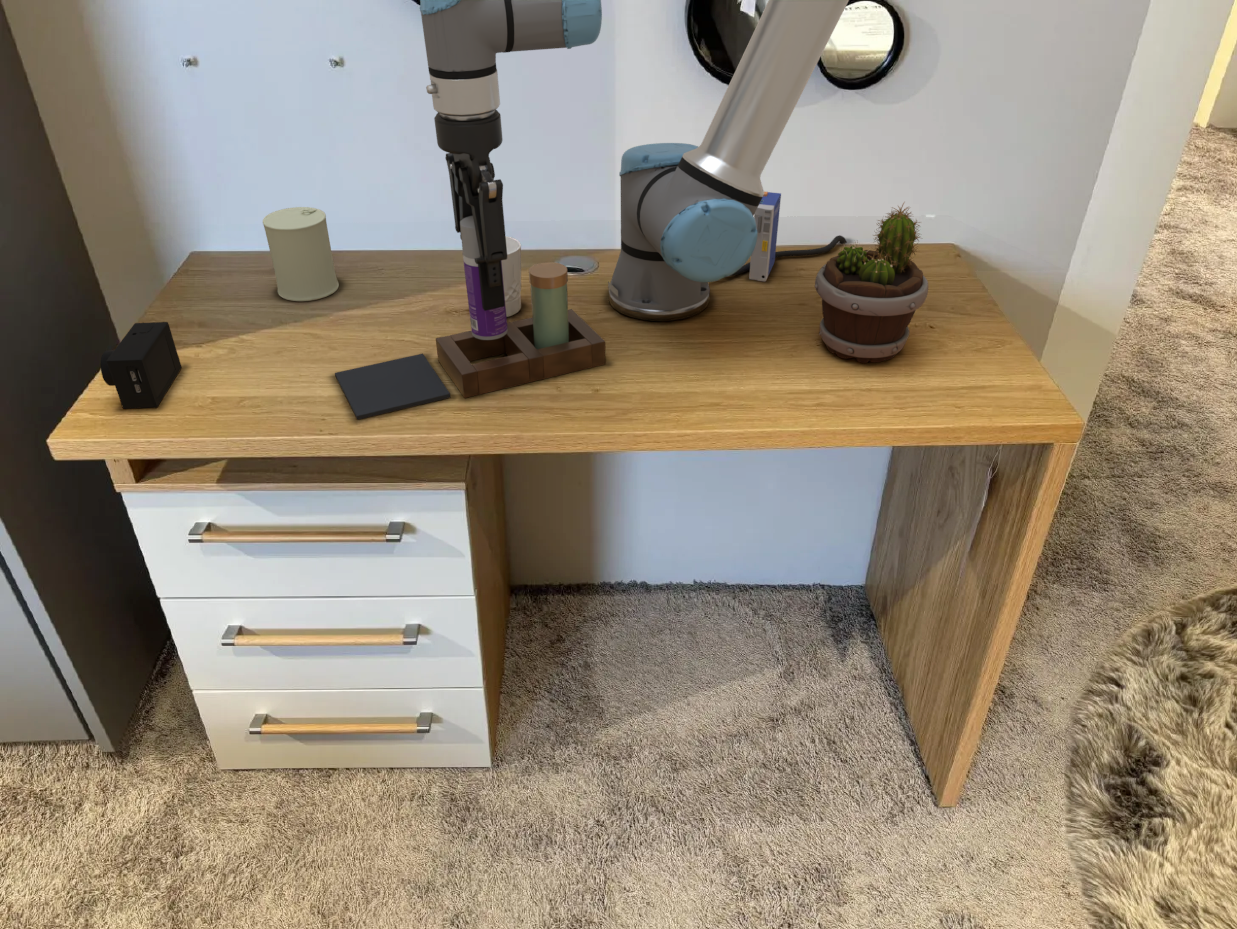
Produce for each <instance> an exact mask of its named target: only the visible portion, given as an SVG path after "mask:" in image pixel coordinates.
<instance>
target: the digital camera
mask: <svg viewBox="0 0 1237 929" xmlns="http://www.w3.org/2000/svg"><path fill="white" fill-rule="evenodd" d="M181 369H183V368H182V364H181V361H180V357H179V354H178V351H177V347H176V344H175V341H174V337H173V334H172V330H171V327H170V324H169V322H168V321H155V322H134V324H133V325H132V326H131V327H130V328H129V330H128V331H127V333H126V334H125V336H124V337H123V338H122V339H121V341H120V342H119V344H118V345H117V346H116V348H114V349H113V350H112V349H109V350H105V351H103V352H102V354H101V358H100V373H101V377H102V379H103V381H104V383H105V384H106V385H107V386H110V387H115V389H116V393H117V396H118V398H119V401H120V404H121V407H122V409H123V410H124V409H125V410H128V409H131V410H132V409H151V408H152V409H154V408H155V409H156V408H158V407H159V406H160V404H161V402H162V400H163V399H164V398H165V396H166V395H167V393H168V391H169V389H170V388H171V386H172V384H174V381H175V379H176V378H177V376H178V374H179V373H180V372H181Z"/></svg>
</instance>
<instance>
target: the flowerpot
mask: <svg viewBox="0 0 1237 929" xmlns="http://www.w3.org/2000/svg"><path fill="white" fill-rule="evenodd" d="M904 204H905V202H903V203H902V204H901V206H899V205H897V207H898V209H897V208H895V207H893V206H892V207H891V206H890V208H891V209H894V210H891V211H890V212H887V213H885V214H886V215H887V216H886V215H884V218H881V219H877V220H876V221H877V223H876V222H875V223H876V226H878V228H876V229H874V233H875V234H873V236H874V238H872V239H873V242H872V243H873V244H874V243H875V242H876V243H877V244H874V246H875V247H873V249H870V248H871V247H868V248H869V249H864V246H858V244H860V242H858V243H857V241H854V244H851V243H849V245H850V247H849V246H846V245H845V243H842V244H843V248H840V250H839V252H838V253H837V254H838V255H835V256H833V257H831V258H830V259H829V260H827V261H826V263H825V264H823V265H822V267H821V268H819V270H818V271H817V273H816V275H815V279H814V280H815V281H814V289H815V292H816V293H817V295H818V296H819V297H820V298H821V308H822V309H821V311H822V318H821V320H820V323H819V332H818V335H819V337H821V339H822V341H823V343H824V344H825V346H826V349H828V351H829V352H830V353H832V354H835V355H836V356H837V357H839V358H840V359H852V358H855V360H856V361H857V362H858V363H861V364H863V363H864V364H865V363H869V362H871V363H881V362H882V363H883V362H884V361H888V360H892V359H893V358H894V357H895V356H896V355H897V354H898V353H899V352H900V351H901V350H903V348H904V347H905V345H906V343H907V341H908V339H909V336H910V328H909V327H908V326H909V325H910V324H911V321H912V319H913V318H914V315H915V313H916V310H918V309H920V308H921V307H922V306H923V305H924V304H925V302H926V300H927V297H928V293H929V281H928V279H927V278H926V277H925V275H924V272H923V270H922V269H920V268H919V267H918V266H917V264H916V263H915V262H914V259H913V258H914V256H916V255H917V254H916V253H917V252H918V251H920V250H919V249H918V248H919V247H920V246H919V245H918V244H919V242H917V241H919V239H921V238H922V234H921V233H920V230H921V229H919V228H921V225H920V223H921V221H918V220H917V219H915V220H913V219H912V217H913V216H914V214H913V213H912V212H913V211H910V212H909V209H911V208H912V207H910V206H906V207H905V208H904V209H903V207H904ZM902 209H903V210H902ZM918 227H919V228H918ZM875 230H876V231H875ZM920 235H921V236H920ZM917 245H918V246H917ZM913 255H914V256H913Z"/></svg>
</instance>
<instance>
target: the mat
mask: <svg viewBox="0 0 1237 929" xmlns="http://www.w3.org/2000/svg"><path fill="white" fill-rule="evenodd" d="M334 376H335V379H336V381H337V383H338V385H339V387H340V389H341V390H342V393H343V395H344V396H345V399H346V401H347V402H348V404H349V406H350V408H351V410H352V413H353V414H354V416H355V419H356V420H363V419H367V418H371V417H375V416H379V415H380V416H381V415H383V414H387V413H392V412H395V411H400V410H405V409H408V408H413V407H417V406H421V405H425V404H430V403H434V402H437V401H442V400H446V399H449V398H451V393H450V391H449V390H448V389H447V387H446V385H445V384H444V383H443V381H442V380H441V378H440V376H439V375H438V374H437V373H436V371H435V369H434V368H433V366H432V365H431V364H430V362H429V361H428V359H427V357H426V356H425V355H424V354H423V353H419V354H418V353H417V354H414V355H410V356H404V357H401V358H396V359H392V360H387V361H382V362H378V363H374V364H369V365H364V366H360V367H355V368H351V369H347V370H342V371H338V372H337V371H336V372H334Z"/></svg>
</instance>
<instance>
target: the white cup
mask: <svg viewBox="0 0 1237 929" xmlns="http://www.w3.org/2000/svg"><path fill="white" fill-rule="evenodd" d="M505 236H506V248H507V259H506V260H501V262H502V273H503V284H504V295H505V306H506V317H507V318H509V317H512V316H514V315H516V314H517V313H519V311H520V310H521V309H522V295H521V291H522V244H521V242H520V240H518V238H517V239H516V238H514V237H513V236H512V237H511V236H507V235H505Z"/></svg>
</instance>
